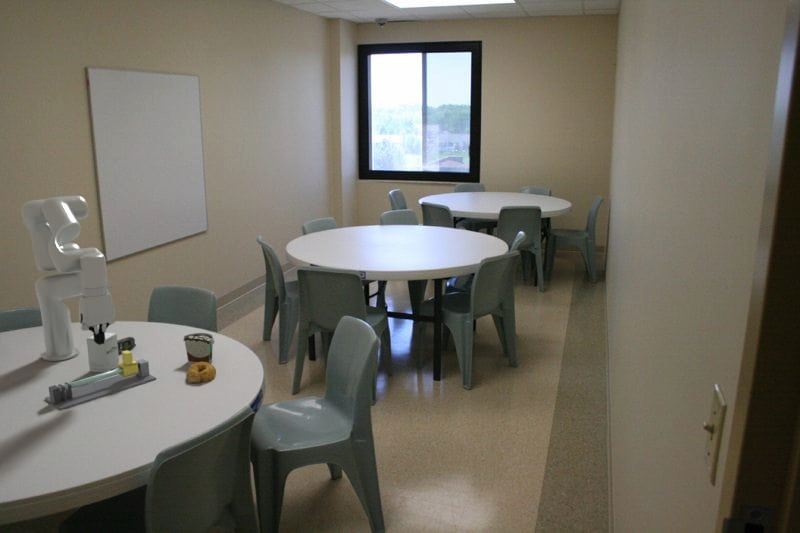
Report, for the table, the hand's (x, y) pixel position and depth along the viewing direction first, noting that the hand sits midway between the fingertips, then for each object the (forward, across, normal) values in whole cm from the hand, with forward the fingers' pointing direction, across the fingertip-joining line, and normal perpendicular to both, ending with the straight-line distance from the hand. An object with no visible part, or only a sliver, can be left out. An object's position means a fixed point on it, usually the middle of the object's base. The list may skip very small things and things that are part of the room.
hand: (99, 343), depth 212 cm
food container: (+16, -36, +5) cm, 40 cm away
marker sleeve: (+13, -8, +2) cm, 16 cm away
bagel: (+15, -26, +18) cm, 35 cm away
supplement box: (+17, -8, -15) cm, 24 cm away
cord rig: (+16, +2, +2) cm, 16 cm away
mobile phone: (+18, -20, -27) cm, 38 cm away
